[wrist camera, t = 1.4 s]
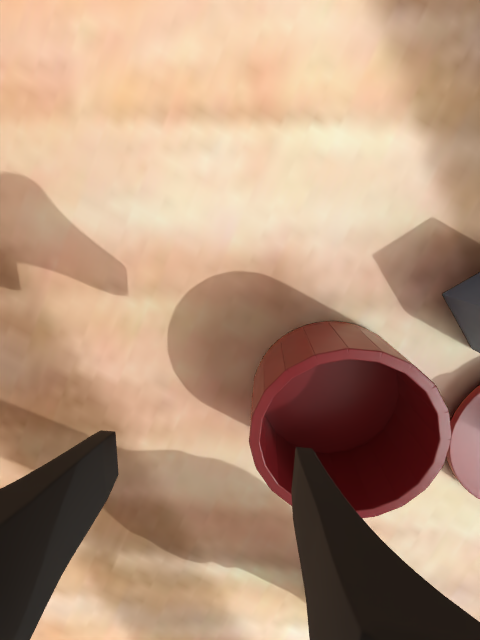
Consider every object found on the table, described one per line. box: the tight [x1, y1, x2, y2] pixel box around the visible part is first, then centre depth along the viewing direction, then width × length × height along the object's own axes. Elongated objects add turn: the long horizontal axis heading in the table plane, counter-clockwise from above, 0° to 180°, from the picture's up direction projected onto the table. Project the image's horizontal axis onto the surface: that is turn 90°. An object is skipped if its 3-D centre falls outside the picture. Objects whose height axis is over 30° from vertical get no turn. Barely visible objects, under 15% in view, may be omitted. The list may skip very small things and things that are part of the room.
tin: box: [249, 321, 451, 518], centre depth 19 cm, size 10×10×5 cm
